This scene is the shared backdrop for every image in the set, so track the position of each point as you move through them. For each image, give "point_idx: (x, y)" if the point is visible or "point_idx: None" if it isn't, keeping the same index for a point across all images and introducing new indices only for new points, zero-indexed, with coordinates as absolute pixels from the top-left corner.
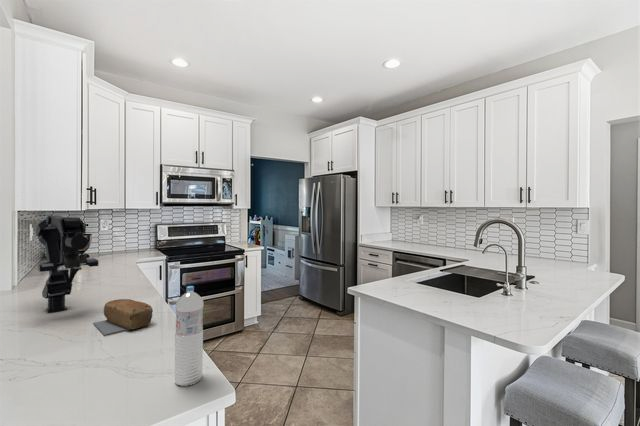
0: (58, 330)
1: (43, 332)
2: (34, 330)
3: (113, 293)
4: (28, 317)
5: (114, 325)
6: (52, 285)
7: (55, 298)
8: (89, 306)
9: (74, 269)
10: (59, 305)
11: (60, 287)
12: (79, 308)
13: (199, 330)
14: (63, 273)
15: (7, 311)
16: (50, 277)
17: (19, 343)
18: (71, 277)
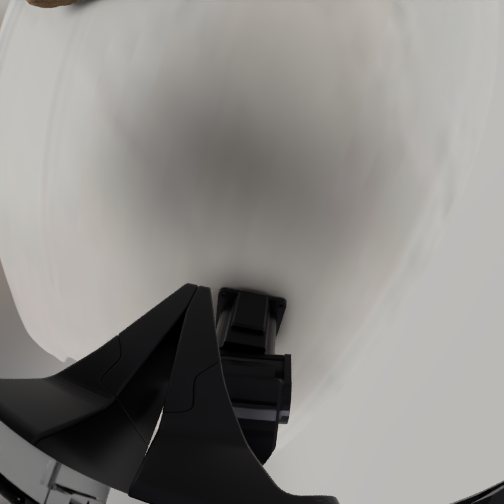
0: (352, 4)
1: (402, 37)
2: (416, 99)
3: (81, 333)
4: (348, 300)
5: None
6: (268, 402)
7: (255, 342)
8: (145, 262)
9: (15, 427)
10: (245, 306)
11: (230, 378)
12: (179, 267)
13: None
14: (247, 448)
15: (340, 385)
16: (269, 455)
17: (473, 15)
18: (145, 345)
